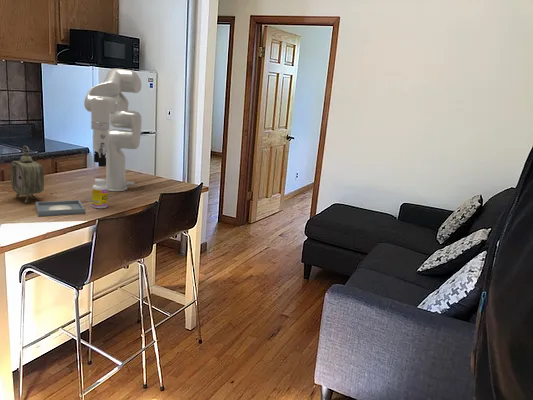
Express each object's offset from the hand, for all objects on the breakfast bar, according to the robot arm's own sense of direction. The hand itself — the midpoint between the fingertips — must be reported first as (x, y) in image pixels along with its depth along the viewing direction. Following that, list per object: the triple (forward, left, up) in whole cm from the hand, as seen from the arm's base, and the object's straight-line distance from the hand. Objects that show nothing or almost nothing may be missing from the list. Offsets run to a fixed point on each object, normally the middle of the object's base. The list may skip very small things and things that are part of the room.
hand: (99, 164), depth 198 cm
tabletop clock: (+28, -17, -20) cm, 39 cm away
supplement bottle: (0, 0, -20) cm, 20 cm away
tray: (+17, +2, -20) cm, 26 cm away
